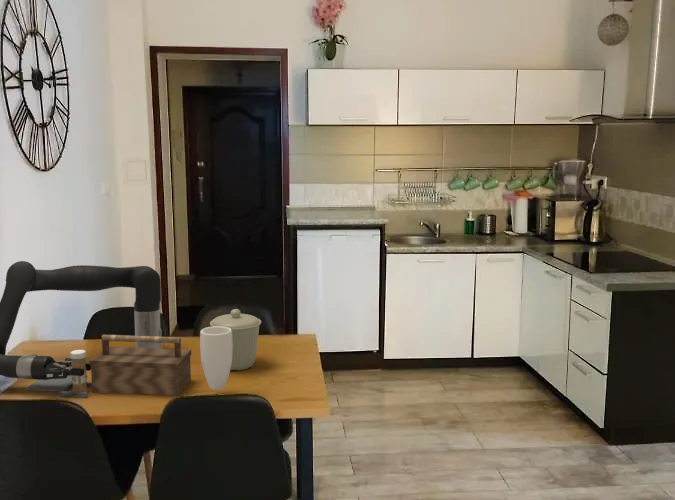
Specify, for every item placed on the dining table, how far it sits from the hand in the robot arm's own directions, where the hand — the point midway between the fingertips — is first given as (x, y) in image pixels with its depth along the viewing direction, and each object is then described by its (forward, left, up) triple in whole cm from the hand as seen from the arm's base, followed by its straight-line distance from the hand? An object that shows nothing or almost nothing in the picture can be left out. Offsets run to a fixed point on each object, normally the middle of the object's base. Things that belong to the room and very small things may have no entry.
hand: (87, 369), depth 211 cm
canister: (-51, -5, -8) cm, 52 cm away
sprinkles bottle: (+2, -1, -8) cm, 8 cm away
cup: (-37, +20, -8) cm, 42 cm away
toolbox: (-12, +1, -7) cm, 14 cm away
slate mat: (+8, -12, -7) cm, 17 cm away
